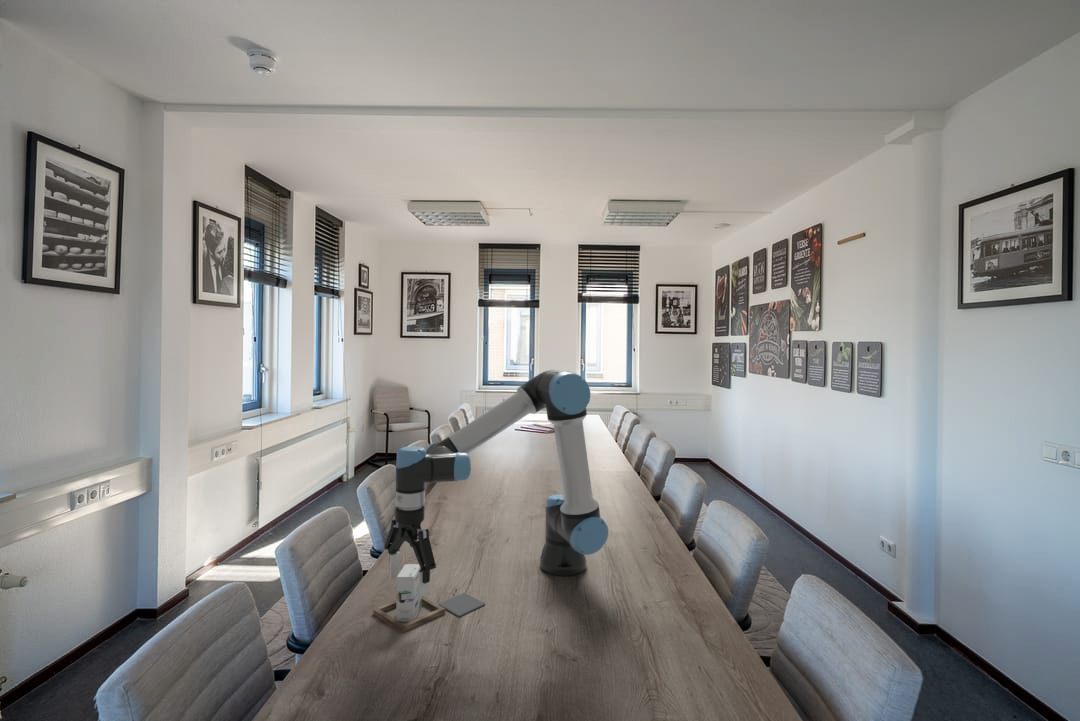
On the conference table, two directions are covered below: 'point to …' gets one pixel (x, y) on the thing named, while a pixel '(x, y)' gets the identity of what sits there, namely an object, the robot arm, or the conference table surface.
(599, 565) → the conference table surface
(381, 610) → the walnut holder
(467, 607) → the felt mat
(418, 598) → the ink box
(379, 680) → the conference table surface
